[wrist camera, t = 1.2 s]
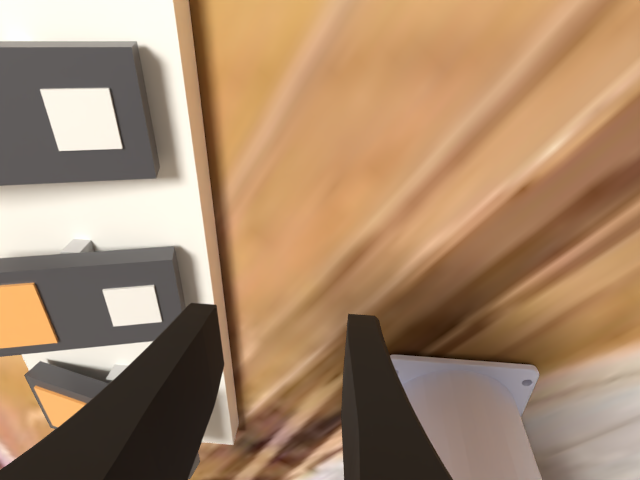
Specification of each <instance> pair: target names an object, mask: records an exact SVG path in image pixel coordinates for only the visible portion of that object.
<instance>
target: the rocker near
mask: <svg viewBox="0 0 640 480" xmlns="http://www.w3.org/2000/svg"><path fill="white" fill-rule="evenodd" d="M159 169H160V164H159V158H158V153H157V147H156V142H155V137H154V131H153V126H152V120H151V115H150V109H149V104H148V98H147V93H146V87H145V82H144V76H143V71H142V66H141V60H140V55H139V49H138V44H137V41H0V186H5V185H27V184H48V183H70V182H91V181H113V180H134V179H156V178H157V175H158V172H159Z"/></svg>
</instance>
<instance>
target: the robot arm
mask: <svg viewBox="0 0 640 480" xmlns="http://www.w3.org/2000/svg"><path fill="white" fill-rule="evenodd" d="M223 369H224V358H223V350H222V342H221V335H220V327H219V320H218V312H217V305H214V304H200V303H190V304H189V305H188V306H187V307H186V308H185V309H184V310H183V311H182V312H181V313H180V314H179V315H178V316H177V317H176V318H175V319H174V320H173V321H172V322H171V324H170V325H169V326H168V327H167V328H166V329H165V330H164V331H163V332H162V333H161V334H160V335H159V336H158V337H157V338H156V339H155V340H154V341H153V342H152V343H151V344H150V345H149V346H148V347H147V348H146V349H145V350H144V351H143V352H142V353H141V354H140V355H139V356H138V357H137V358H136V359H135V360H134V361H133V362H132V363H131V364H130V365H129V366H128V367H127V368H126V369H125V370H123V371H122V372H121V373H120V374H119V375H118V376H117V377H116V378H115V379H114V380H113V381H112V382H110V383H109V384H108V385H107V386H106V387H105V388H104V389H103V390H101V391H100V392H99V393H98V394H97V395H96V396H95V397H94V398H93V399H91V400H90V401H89V402H88V403H87V404H86V405H85V406H83V407H82V408H81V409H80V410H79V411H77V412H76V413H75V414H74V415H73V416H71V417H70V418H69V419H68V420H66V421H65V422H64V423H63V424H62V425H60V426H59V427H58V428H56V429H55V430H54V431H53V432H51V433H50V434H49V435H47V436H46V437H45V438H44V439H42V440H41V441H40V442H38V443H37V444H36V445H34V446H33V447H32V448H30V449H29V450H28V451H26V452H25V453H23V454H22V455H21V456H19V457H18V458H17V459H15V460H14V461H12V462H11V463H10V464H8V465H7V466H5V467H4V468H2V469H1V470H0V480H188V477H189V475H190V472H191V469H192V467H193V464H194V461H195V458H196V456H197V453H198V450H199V447H200V445H201V442H202V439H203V437H204V434H205V431H206V428H207V425H208V423H209V420H210V417H211V414H212V412H213V409H214V406H215V402H216V398H217V394H218V390H219V386H220V382H221V377H222V373H223ZM395 369H396V370H395ZM538 378H539V372H538V369H537V367H535V366H534V365H528V364H515V363H501V362H488V361H475V360H461V359H448V358H435V357H421V356H408V355H389V352H388V350H387V347H386V344H385V341H384V338H383V335H382V331H381V327H380V323H379V320H378V319H377V318H376V317H375V316H369V315H355V314H348V323H347V335H346V347H345V359H344V371H343V390H342V411H341V420H342V441H343V462H344V480H542V478H541V475H540V472H539V469H538V466H537V463H536V460H535V457H534V454H533V452H532V449H531V446H530V443H529V440H528V437H527V434H526V431H525V428H524V425H523V423H522V420H521V416H522V414H523V412H524V409H525V407H526V405H527V403H528V400H529V398H530V396H531V394H532V391H533V389H534V387H535V385H536V382H537V380H538Z"/></svg>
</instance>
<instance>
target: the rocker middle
mask: <svg viewBox="0 0 640 480" xmlns="http://www.w3.org/2000/svg"><path fill="white" fill-rule="evenodd" d="M185 308H186V306H185V300H184V295H183V290H182V284H181V279H180V273H179V268H178V262H177V257H176V251H175V246H168V247H153V248H139V249H125V250H110V251H96V252H82V253H67V254H53V255H39V256H24V257H10V258H0V357H2V356H12V355H22V354H32V353H42V352H52V351H61V350H71V349H81V348H91V347H101V346H111V345H121V344H131V343H140V342H150V341H154V340H155V339H156V338H157V337H158V336H159V335H160V334H161V333H162V332H163V331H164V330H165V329H166V328H167V327H168V326H169V325H170V324H171V322H172V321H173V320H174V319H175V318H176V317H177V316H178V315H179V314H180V313H181V312H182V311H183V310H184V309H185Z"/></svg>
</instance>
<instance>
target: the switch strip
mask: <svg viewBox="0 0 640 480" xmlns="http://www.w3.org/2000/svg"><path fill="white" fill-rule="evenodd" d="M0 41H137V44H138V49H139V55H140V60H141V66H142V71H143V76H144V82H145V87H146V93H147V98H148V104H149V109H150V115H151V120H152V126H153V131H154V137H155V142H156V147H157V153H158V158H159V164H160V169H159V172H158V175H157V178H156V179H134V180H113V181H91V182H70V183H48V184H27V185H5V186H0V258H10V257H24V256H39V255H53V254H67V253H82V252H96V251H110V250H125V249H139V248H153V247H168V246H175V251H176V257H177V262H178V268H179V273H180V279H181V284H182V290H183V295H184V300H185V306H186V307H187V306H188V305H189V304H190V303H200V304H214V305H217V312H218V320H219V327H220V335H221V342H222V350H223V358H224V369H223V373H222V377H221V382H220V386H219V390H218V394H217V398H216V402H215V406H214V409H213V412H212V414H211V417H210V420H209V423H208V425H207V428H206V431H205V434H204V437H203V439H202V442H207V443H218V444H230V445H233V444H234V440H235V436H236V432H237V429H238V425H239V419H238V411H237V402H236V394H235V385H234V377H233V369H232V360H231V352H230V343H229V335H228V326H227V318H226V310H225V301H224V293H223V284H222V276H221V267H220V259H219V251H218V242H217V234H216V225H215V217H214V208H213V200H212V192H211V183H210V175H209V166H208V158H207V149H206V141H205V133H204V124H203V116H202V107H201V99H200V90H199V82H198V74H197V65H196V57H195V48H194V40H193V31H192V23H191V15H190V6H189V0H0ZM152 342H153V341H150V342H140V343H131V344H121V345H111V346H101V347H91V348H81V349H71V350H61V351H52V352H42V353H32V354H22V357H23V359H24V361H25V363H26V365H27V367H28V369H29V371H30V370H31V369H32V368H33V367H34V366H35V365H36V364H37V363H38V362H40V361H42V362H45V363H48V364H51V365H54V366H57V367H60V368H63V369H66V370H69V371H72V372H75V373H78V374H81V375H84V376H88V377H91V378H94V379H97V380H100V381H103V382H106V383H110V382H112V381H113V380H114V379H115V378H116V377H117V376H118V375H119V374H120V373H121V372H122V371H123V370H125V369H126V368H127V367H128V366H129V365H130V364H131V363H132V362H133V361H134V360H135V359H136V358H137V357H138V356H139V355H140V354H141V353H142V352H143V351H144V350H145V349H146V348H147V347H148V346H149V345H150V344H151V343H152Z"/></svg>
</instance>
